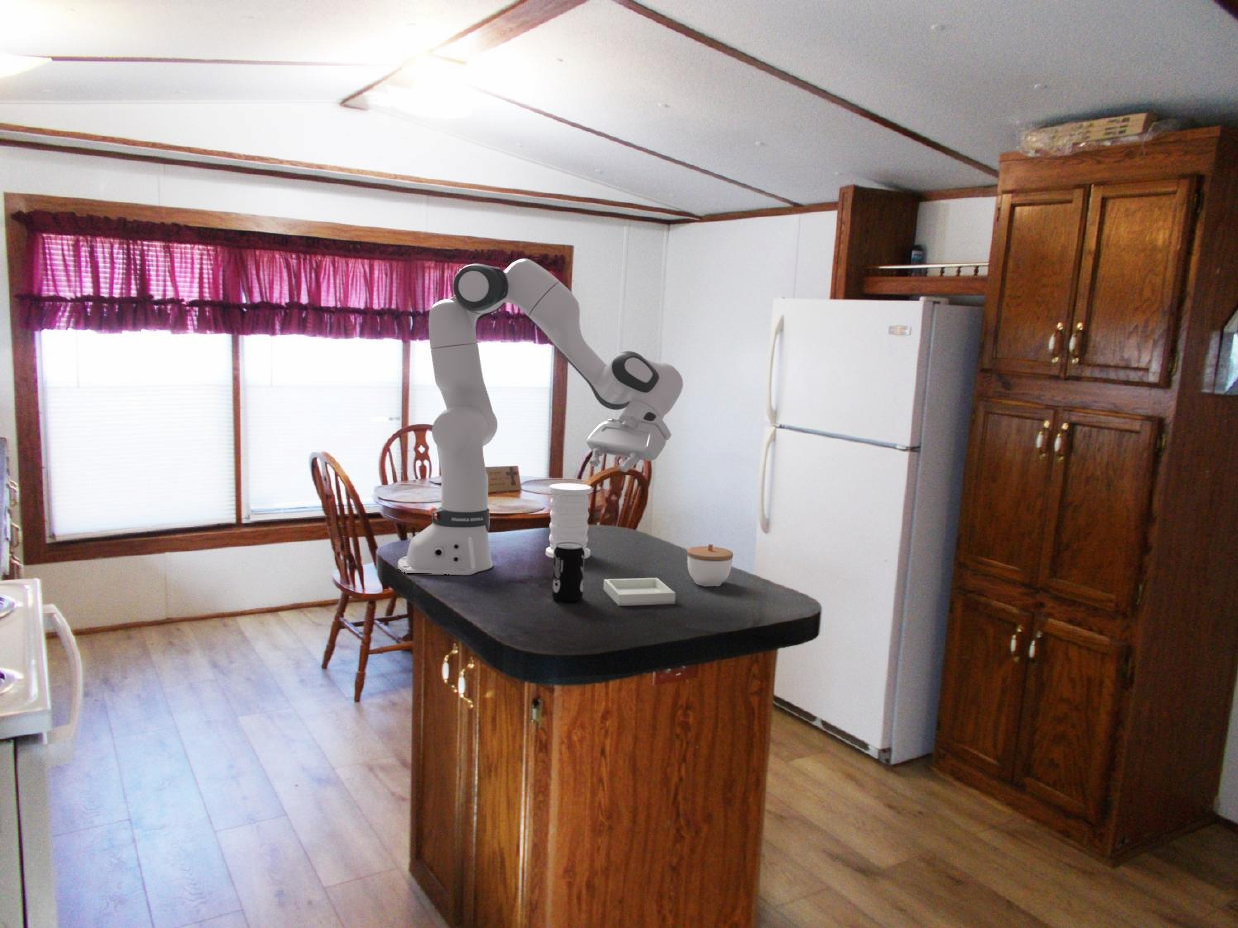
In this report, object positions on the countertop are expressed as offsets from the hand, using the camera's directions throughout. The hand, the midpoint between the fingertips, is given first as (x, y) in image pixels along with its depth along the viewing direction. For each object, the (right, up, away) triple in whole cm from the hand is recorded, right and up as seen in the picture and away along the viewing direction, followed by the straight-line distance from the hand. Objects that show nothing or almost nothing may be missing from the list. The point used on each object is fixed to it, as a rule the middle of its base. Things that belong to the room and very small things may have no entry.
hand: (607, 467), depth 206 cm
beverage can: (-8, -29, -9) cm, 31 cm away
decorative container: (-11, -23, +31) cm, 40 cm away
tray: (+7, -28, -5) cm, 30 cm away
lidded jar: (+24, -28, +9) cm, 38 cm away
